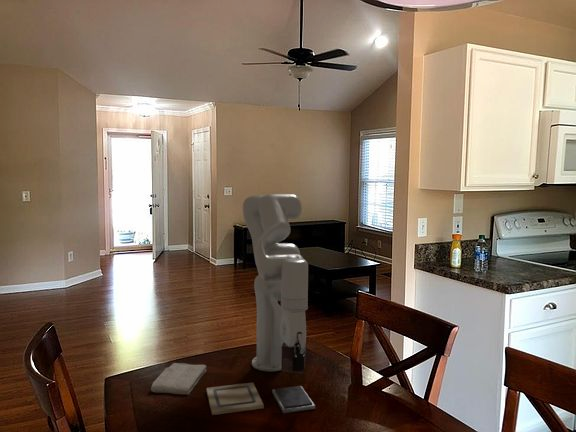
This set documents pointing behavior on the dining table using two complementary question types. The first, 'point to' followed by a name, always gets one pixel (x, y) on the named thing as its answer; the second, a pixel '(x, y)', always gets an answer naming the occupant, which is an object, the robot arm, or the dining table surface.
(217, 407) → the board
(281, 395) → the ink pad
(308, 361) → the dining table surface
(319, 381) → the dining table surface
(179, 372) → the washcloth
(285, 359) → the box
